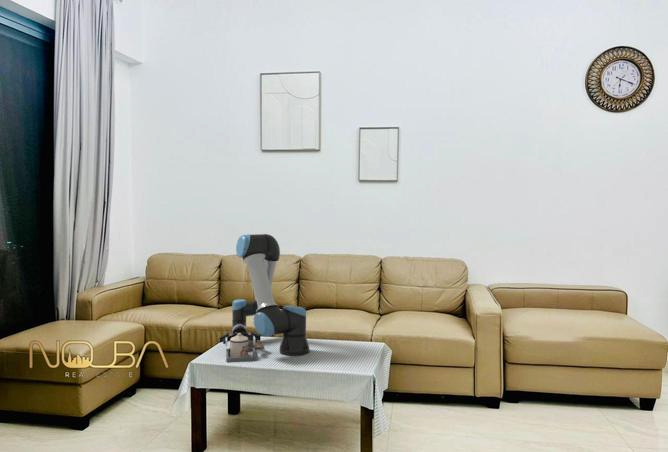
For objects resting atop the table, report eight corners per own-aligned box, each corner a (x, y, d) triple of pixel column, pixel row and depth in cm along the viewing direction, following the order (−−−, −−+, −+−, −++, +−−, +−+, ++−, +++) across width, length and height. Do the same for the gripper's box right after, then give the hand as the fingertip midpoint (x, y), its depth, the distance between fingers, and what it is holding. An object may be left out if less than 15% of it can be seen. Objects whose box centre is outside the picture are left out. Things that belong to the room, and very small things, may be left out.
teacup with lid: (242, 360, 239) (242, 336, 239) (226, 358, 242) (226, 334, 242) (254, 353, 251) (254, 330, 250) (238, 352, 254) (238, 329, 253)
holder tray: (254, 350, 256) (254, 347, 256) (256, 360, 240) (256, 356, 240) (226, 352, 253) (226, 348, 253) (226, 362, 237) (226, 358, 237)
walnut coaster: (262, 342, 273) (262, 341, 272) (263, 348, 261) (263, 347, 261) (239, 343, 270) (239, 342, 270) (240, 349, 258) (240, 348, 258)
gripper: (263, 338, 268) (266, 349, 247) (215, 340, 263) (214, 351, 242) (263, 324, 268) (266, 334, 247) (215, 326, 263) (214, 336, 242)
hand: (240, 342), depth 244 cm, fingers open, 13 cm apart
